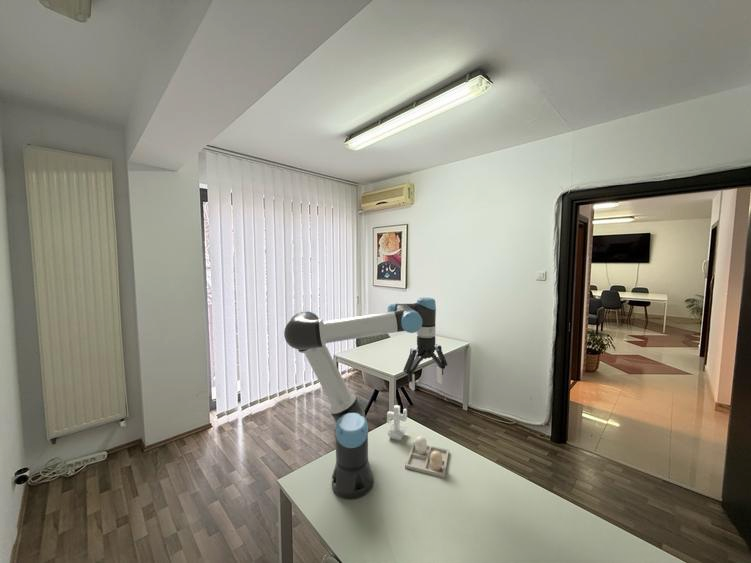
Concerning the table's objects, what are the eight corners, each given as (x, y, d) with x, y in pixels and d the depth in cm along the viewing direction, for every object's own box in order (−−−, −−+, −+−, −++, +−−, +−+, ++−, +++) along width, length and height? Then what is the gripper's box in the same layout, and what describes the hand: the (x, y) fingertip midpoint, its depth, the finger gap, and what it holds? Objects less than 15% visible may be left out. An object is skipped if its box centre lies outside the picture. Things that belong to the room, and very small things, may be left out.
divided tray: (404, 469, 113) (404, 465, 113) (413, 446, 127) (413, 441, 127) (444, 479, 108) (444, 474, 108) (448, 454, 122) (448, 449, 122)
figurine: (390, 431, 138) (389, 400, 137) (409, 435, 135) (409, 404, 133) (384, 439, 132) (384, 407, 131) (404, 444, 128) (404, 412, 127)
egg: (429, 471, 111) (429, 454, 111) (431, 463, 116) (431, 446, 115) (441, 474, 110) (441, 456, 109) (443, 465, 114) (443, 449, 113)
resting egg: (414, 454, 121) (414, 439, 120) (416, 447, 125) (416, 432, 124) (425, 457, 119) (425, 441, 118) (427, 450, 123) (427, 434, 123)
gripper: (404, 341, 111) (404, 395, 113) (456, 334, 122) (455, 383, 123) (394, 337, 118) (395, 387, 120) (444, 330, 128) (444, 377, 130)
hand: (425, 385), depth 121 cm, fingers open, 13 cm apart
